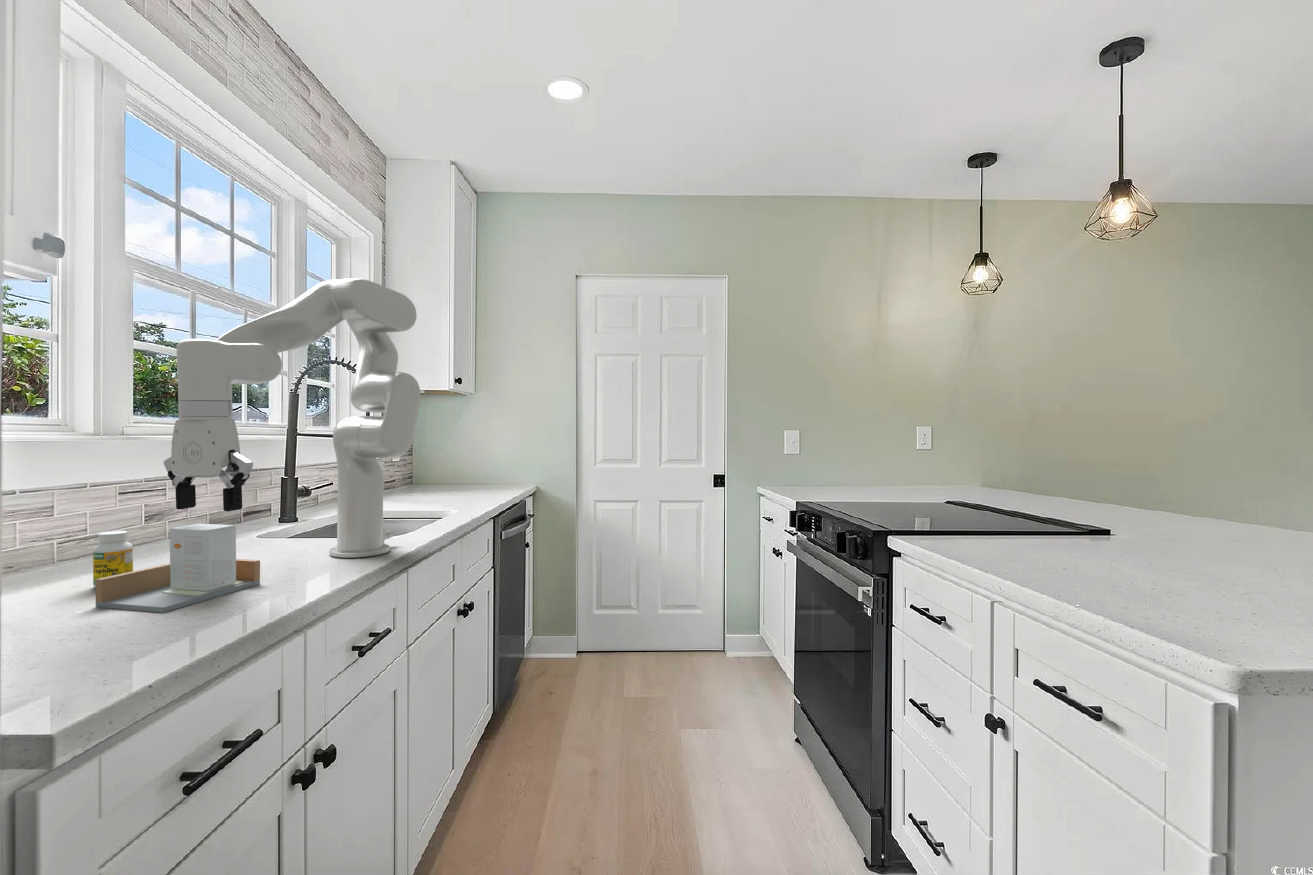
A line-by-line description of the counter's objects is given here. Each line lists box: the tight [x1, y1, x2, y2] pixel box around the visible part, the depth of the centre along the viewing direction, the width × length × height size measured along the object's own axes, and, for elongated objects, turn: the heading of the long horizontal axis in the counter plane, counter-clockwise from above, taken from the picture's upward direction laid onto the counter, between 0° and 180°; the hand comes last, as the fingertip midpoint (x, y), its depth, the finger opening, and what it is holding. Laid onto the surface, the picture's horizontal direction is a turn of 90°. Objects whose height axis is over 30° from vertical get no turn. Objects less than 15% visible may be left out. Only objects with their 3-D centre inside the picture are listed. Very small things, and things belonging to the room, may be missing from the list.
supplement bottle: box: [92, 530, 134, 589], centre depth 109 cm, size 5×5×10 cm
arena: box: [95, 558, 261, 613], centre depth 104 cm, size 18×13×4 cm
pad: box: [162, 581, 244, 596], centre depth 105 cm, size 9×7×1 cm
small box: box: [169, 523, 237, 591], centre depth 105 cm, size 8×6×10 cm
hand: (209, 509), depth 106 cm, fingers open, 9 cm apart
